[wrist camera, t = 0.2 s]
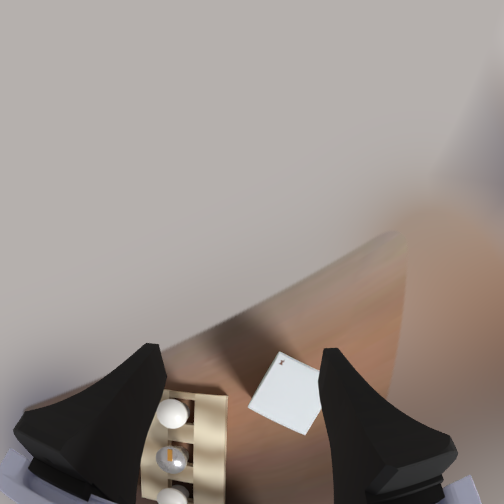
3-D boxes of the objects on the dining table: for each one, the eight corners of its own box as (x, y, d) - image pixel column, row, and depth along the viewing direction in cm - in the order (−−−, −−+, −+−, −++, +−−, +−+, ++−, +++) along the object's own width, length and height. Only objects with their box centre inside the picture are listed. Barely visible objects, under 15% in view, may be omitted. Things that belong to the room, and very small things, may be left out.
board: (225, 507, 29) (223, 512, 27) (146, 493, 30) (142, 496, 28) (227, 395, 38) (225, 396, 36) (147, 386, 39) (142, 386, 37)
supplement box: (251, 399, 38) (244, 406, 26) (276, 358, 40) (279, 348, 29) (294, 421, 36) (305, 437, 24) (319, 380, 38) (339, 378, 27)
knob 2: (193, 505, 28) (186, 515, 24) (166, 500, 28) (157, 509, 24) (192, 484, 29) (185, 492, 26) (165, 479, 30) (156, 486, 26)
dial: (193, 468, 31) (184, 476, 27) (165, 463, 31) (155, 470, 27) (193, 444, 33) (184, 450, 29) (165, 439, 33) (154, 444, 29)
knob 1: (193, 426, 34) (185, 430, 30) (166, 422, 34) (156, 425, 30) (194, 399, 36) (186, 401, 32) (167, 396, 36) (156, 397, 32)
